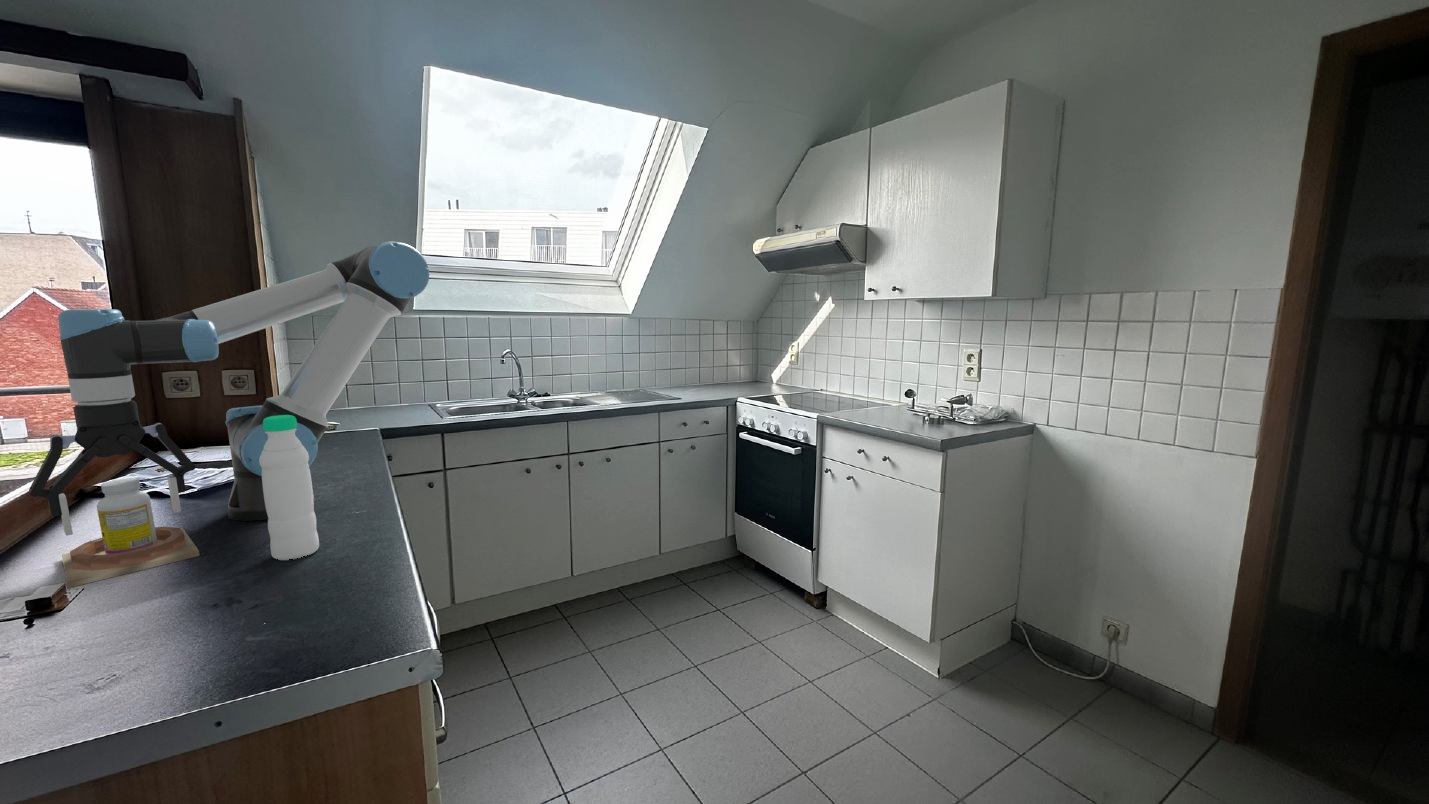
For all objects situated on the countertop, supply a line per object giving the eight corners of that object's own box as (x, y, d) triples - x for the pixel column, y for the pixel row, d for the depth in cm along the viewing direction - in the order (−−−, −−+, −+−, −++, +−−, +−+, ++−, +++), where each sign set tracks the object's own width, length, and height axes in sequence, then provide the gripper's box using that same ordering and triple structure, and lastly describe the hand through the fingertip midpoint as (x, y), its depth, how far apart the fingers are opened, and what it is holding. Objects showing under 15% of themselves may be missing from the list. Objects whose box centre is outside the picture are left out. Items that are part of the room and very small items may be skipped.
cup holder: (183, 533, 116) (181, 518, 116) (199, 555, 106) (197, 539, 105) (62, 559, 104) (59, 543, 104) (67, 587, 94) (64, 570, 93)
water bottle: (328, 549, 108) (313, 414, 104) (287, 564, 102) (269, 421, 98) (304, 543, 111) (288, 411, 107) (263, 557, 105) (244, 418, 101)
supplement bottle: (118, 547, 107) (106, 478, 105) (165, 542, 109) (154, 474, 107) (96, 562, 101) (83, 489, 98) (147, 556, 103) (135, 485, 101)
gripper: (195, 391, 112) (210, 498, 116) (-12, 409, 93) (14, 538, 96) (205, 394, 108) (221, 506, 111) (-10, 414, 88) (17, 549, 92)
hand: (125, 521), depth 104 cm, fingers open, 13 cm apart
